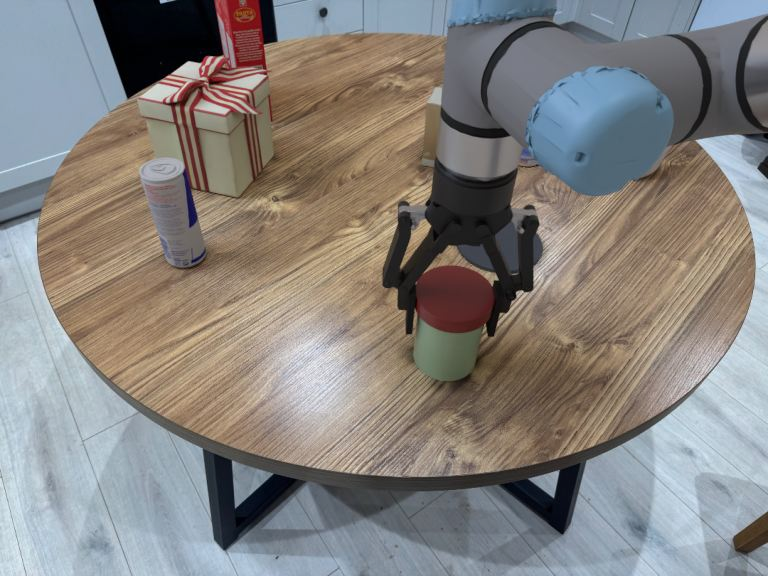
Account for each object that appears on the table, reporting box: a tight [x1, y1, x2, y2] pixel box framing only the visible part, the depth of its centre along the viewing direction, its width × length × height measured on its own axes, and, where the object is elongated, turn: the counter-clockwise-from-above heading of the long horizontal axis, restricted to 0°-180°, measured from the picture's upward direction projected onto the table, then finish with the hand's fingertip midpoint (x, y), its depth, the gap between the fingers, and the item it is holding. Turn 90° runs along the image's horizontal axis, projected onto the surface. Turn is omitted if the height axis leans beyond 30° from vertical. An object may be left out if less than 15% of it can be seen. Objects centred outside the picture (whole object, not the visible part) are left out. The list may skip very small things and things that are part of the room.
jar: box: [412, 313, 485, 382], centre depth 67 cm, size 8×8×11 cm
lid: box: [415, 264, 495, 333], centre depth 63 cm, size 9×9×2 cm
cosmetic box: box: [421, 86, 442, 169], centre depth 99 cm, size 6×4×12 cm
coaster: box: [456, 222, 544, 274], centre depth 86 cm, size 13×13×1 cm
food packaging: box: [213, 0, 274, 123], centre depth 106 cm, size 15×5×25 cm, turn 23°
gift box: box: [136, 55, 275, 199], centre depth 93 cm, size 17×18×17 cm
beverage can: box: [138, 158, 207, 269], centre depth 77 cm, size 6×6×15 cm
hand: (449, 326), depth 67 cm, fingers closed on lid, 9 cm apart
